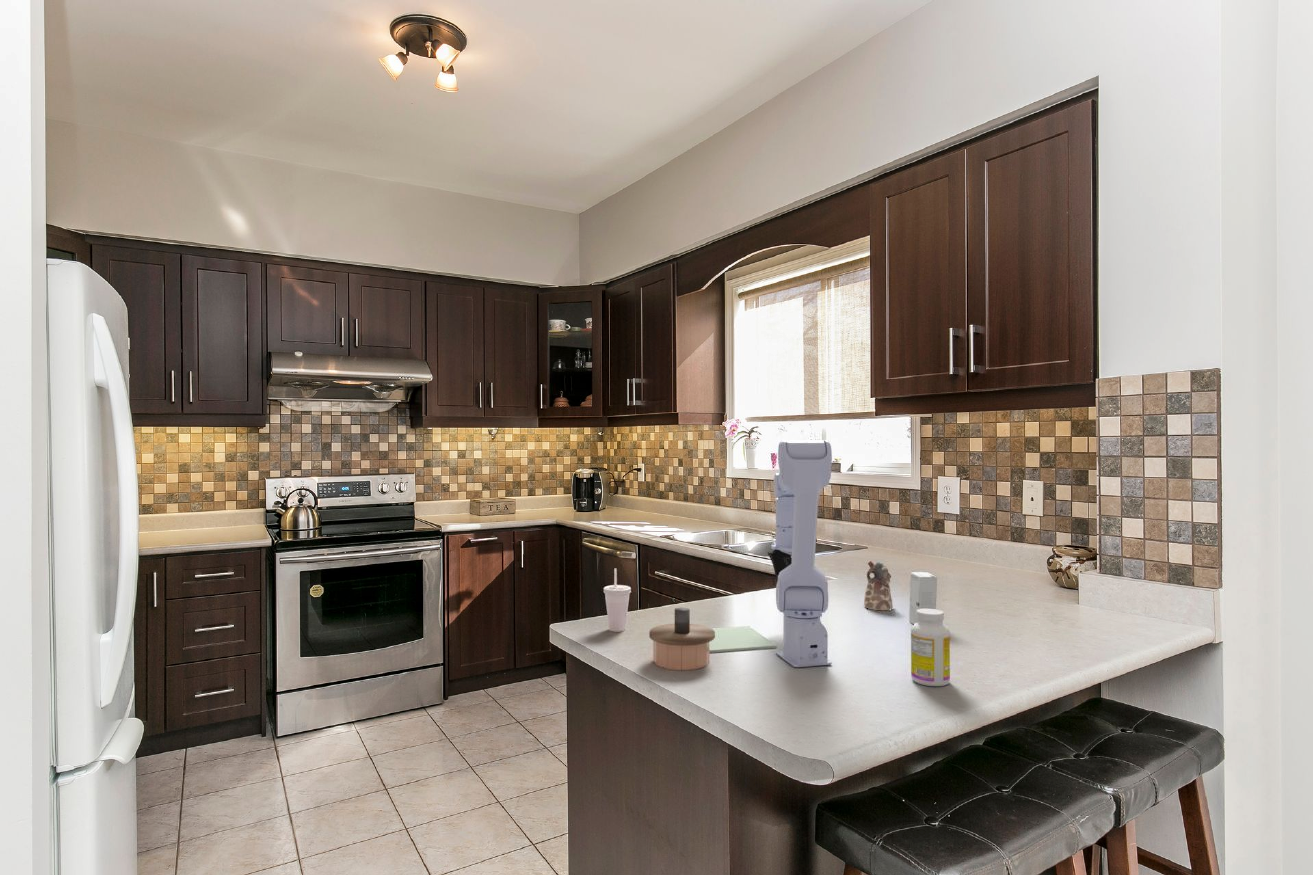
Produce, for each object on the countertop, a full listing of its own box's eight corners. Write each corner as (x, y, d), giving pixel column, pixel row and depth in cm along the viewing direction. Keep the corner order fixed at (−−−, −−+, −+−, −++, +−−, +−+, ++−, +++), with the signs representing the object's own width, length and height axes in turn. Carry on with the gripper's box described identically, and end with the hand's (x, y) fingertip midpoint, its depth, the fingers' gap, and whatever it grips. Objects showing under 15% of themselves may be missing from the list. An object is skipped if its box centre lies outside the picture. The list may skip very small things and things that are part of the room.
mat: (776, 647, 154) (776, 645, 154) (704, 653, 150) (704, 650, 150) (749, 628, 169) (749, 625, 169) (682, 632, 165) (682, 630, 165)
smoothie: (616, 624, 172) (616, 565, 172) (636, 629, 168) (636, 568, 168) (597, 629, 167) (597, 569, 167) (618, 634, 163) (618, 572, 163)
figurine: (886, 612, 184) (887, 565, 184) (859, 608, 189) (860, 562, 189) (896, 607, 190) (896, 561, 190) (870, 603, 194) (870, 558, 194)
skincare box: (908, 621, 175) (908, 571, 175) (926, 621, 175) (926, 571, 175) (918, 628, 169) (918, 576, 169) (937, 628, 169) (937, 576, 169)
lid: (725, 641, 140) (725, 614, 140) (661, 648, 136) (661, 619, 136) (700, 625, 153) (700, 599, 153) (641, 630, 149) (641, 604, 149)
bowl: (715, 667, 141) (715, 641, 141) (661, 671, 138) (661, 645, 138) (699, 651, 151) (699, 627, 151) (648, 654, 149) (648, 630, 148)
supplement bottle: (940, 675, 136) (940, 606, 136) (956, 687, 130) (956, 615, 130) (905, 675, 136) (905, 606, 136) (919, 687, 130) (919, 615, 130)
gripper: (760, 522, 173) (759, 579, 173) (785, 530, 159) (784, 592, 159) (787, 522, 175) (787, 578, 175) (814, 529, 161) (814, 591, 161)
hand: (788, 585), depth 167 cm, fingers open, 7 cm apart
